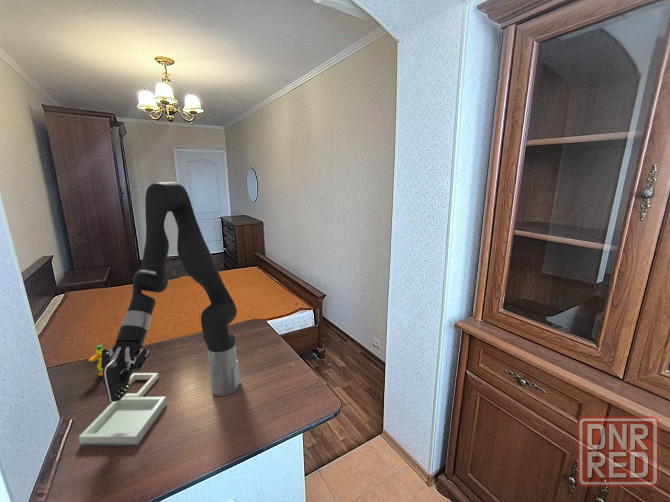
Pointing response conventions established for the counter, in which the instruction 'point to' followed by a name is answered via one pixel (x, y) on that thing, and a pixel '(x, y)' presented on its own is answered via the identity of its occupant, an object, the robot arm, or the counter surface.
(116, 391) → the battery charger
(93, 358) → the toy figure
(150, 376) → the white rectangular frame
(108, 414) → the tray
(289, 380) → the counter surface
